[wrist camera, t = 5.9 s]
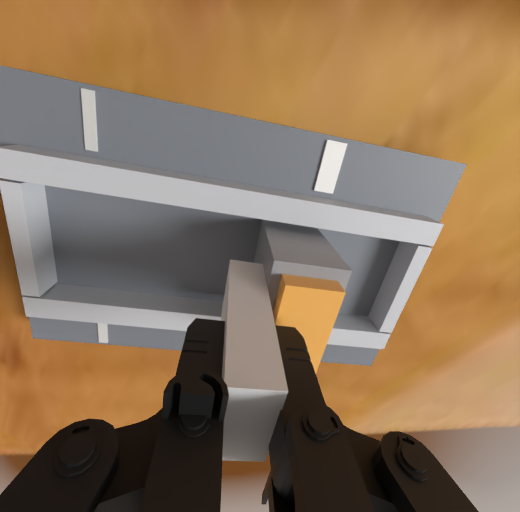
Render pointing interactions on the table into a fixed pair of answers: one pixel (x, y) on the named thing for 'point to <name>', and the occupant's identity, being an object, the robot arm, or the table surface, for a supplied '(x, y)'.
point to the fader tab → (302, 281)
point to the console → (196, 212)
